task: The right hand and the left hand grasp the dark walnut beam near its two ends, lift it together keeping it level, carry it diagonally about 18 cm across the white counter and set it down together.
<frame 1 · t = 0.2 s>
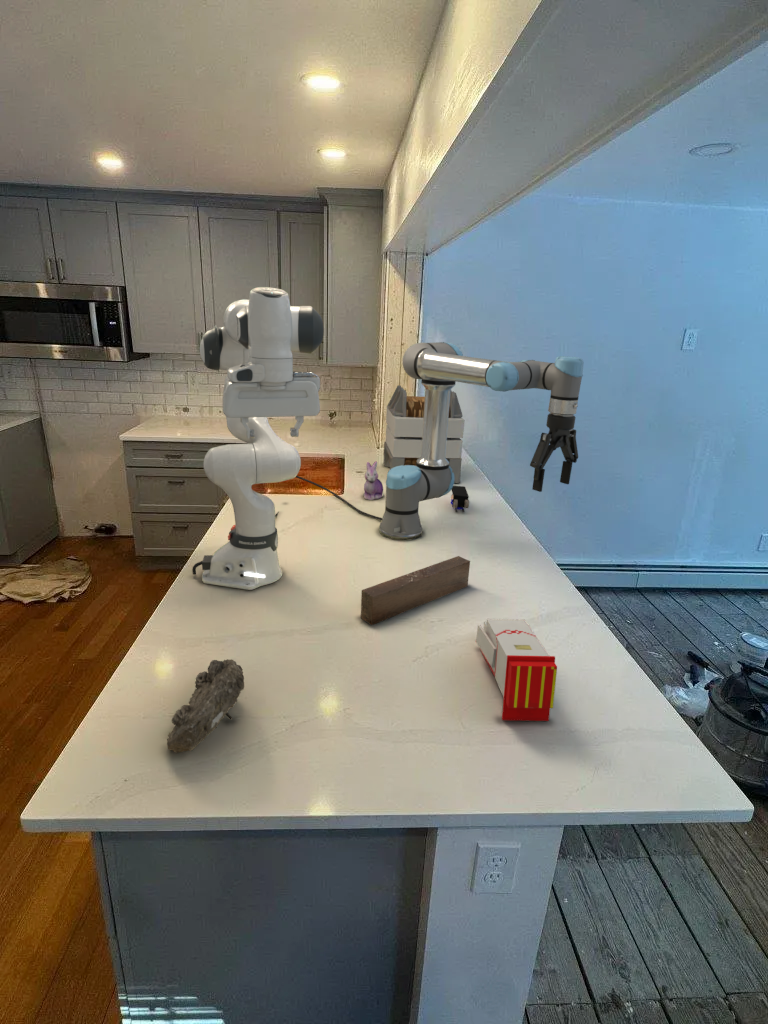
left hand: (272, 437, 122), 48 cm above the counter, fingers open, 8 cm apart
right hand: (551, 486, 165), 28 cm above the counter, fingers open, 13 cm apart
walnut beam: (417, 601, 154), on the counter
feather: (277, 515, 212), on the counter
figurine character: (458, 508, 229), on the counter
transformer: (419, 473, 275), on the counter
figurine: (372, 497, 237), on the counter
fossil: (212, 717, 108), on the counter
toy: (508, 678, 123), on the counter
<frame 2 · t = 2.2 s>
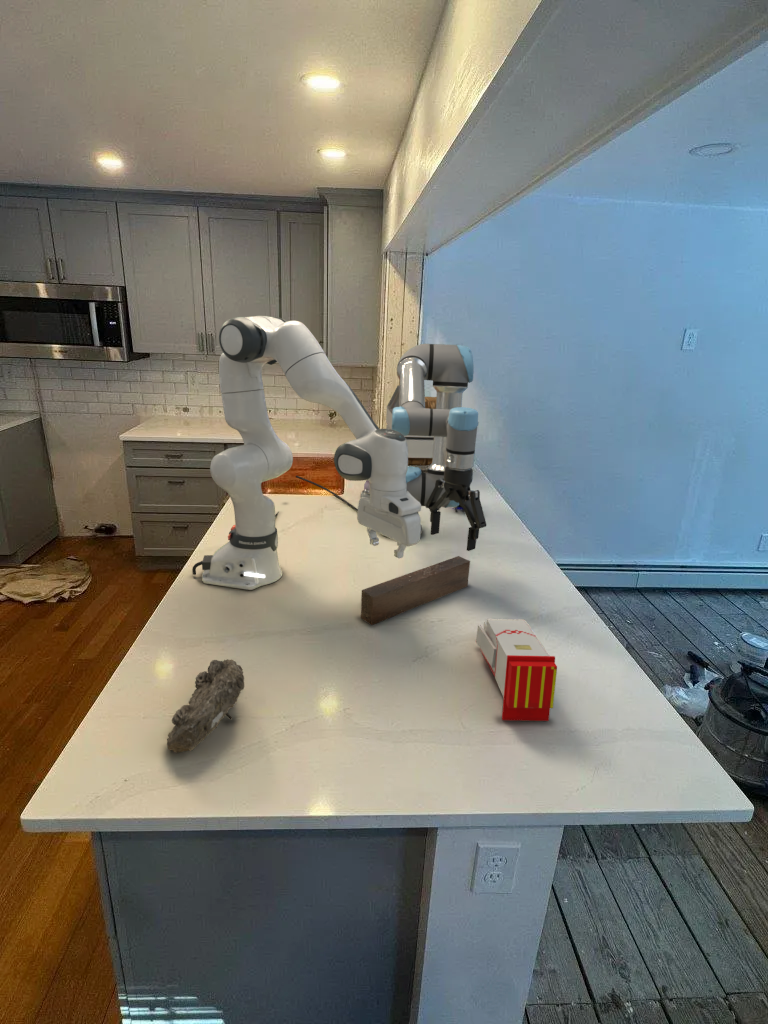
left hand: (386, 550, 140), 18 cm above the counter, fingers open, 8 cm apart
right hand: (452, 541, 157), 15 cm above the counter, fingers open, 13 cm apart
nothing on the counter moved.
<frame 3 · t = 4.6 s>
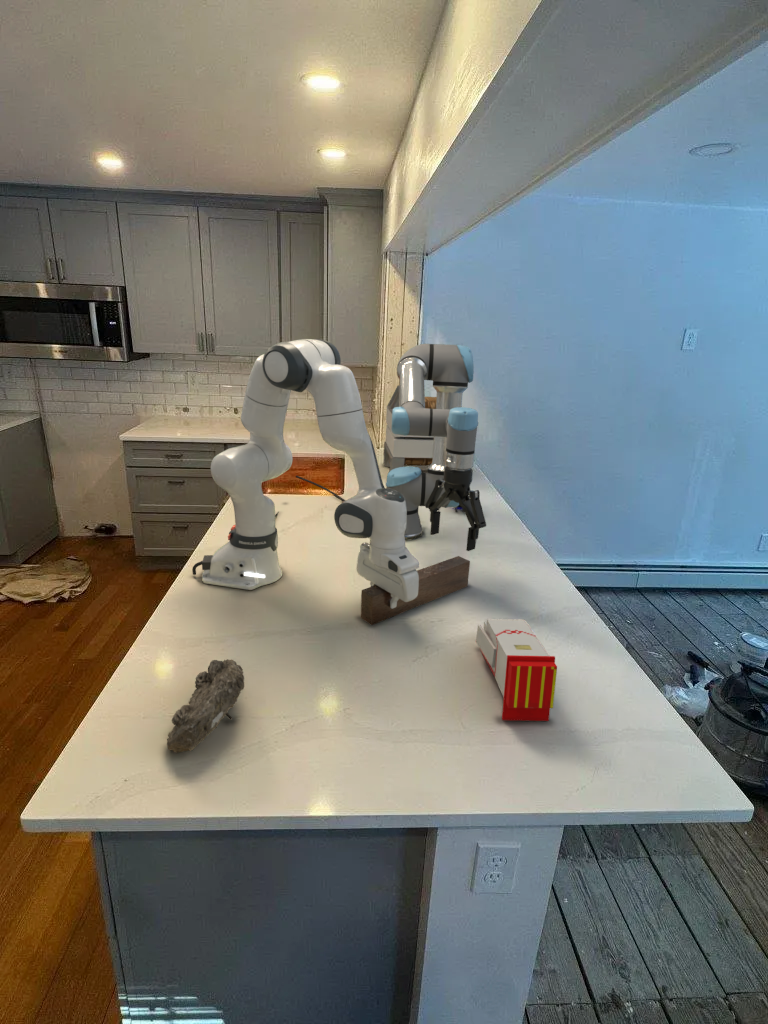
left hand: (384, 602, 146), 4 cm above the counter, fingers closed on walnut beam, 4 cm apart
right hand: (452, 541, 157), 15 cm above the counter, fingers open, 13 cm apart
walnut beam: (417, 601, 154), on the counter, touching left hand
everything else where it was.
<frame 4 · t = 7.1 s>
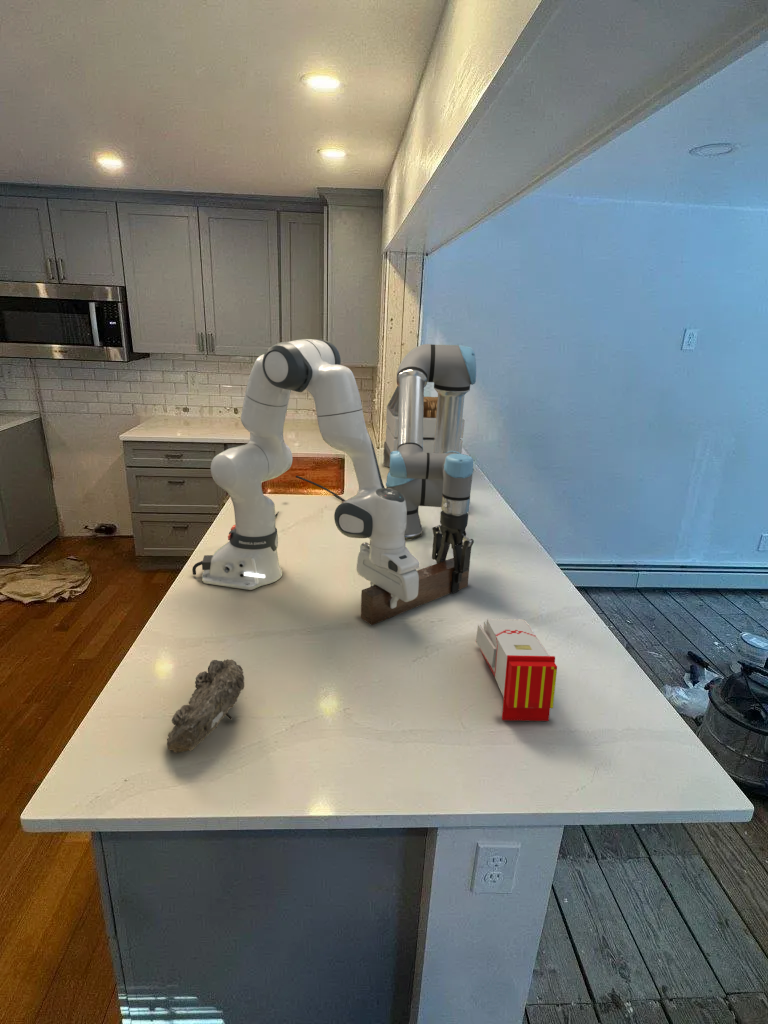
left hand: (384, 602, 146), 4 cm above the counter, fingers closed on walnut beam, 4 cm apart
right hand: (447, 588, 162), 0 cm above the counter, fingers closed on walnut beam, 4 cm apart
walnut beam: (417, 601, 154), on the counter, touching right hand, left hand
everything else where it was.
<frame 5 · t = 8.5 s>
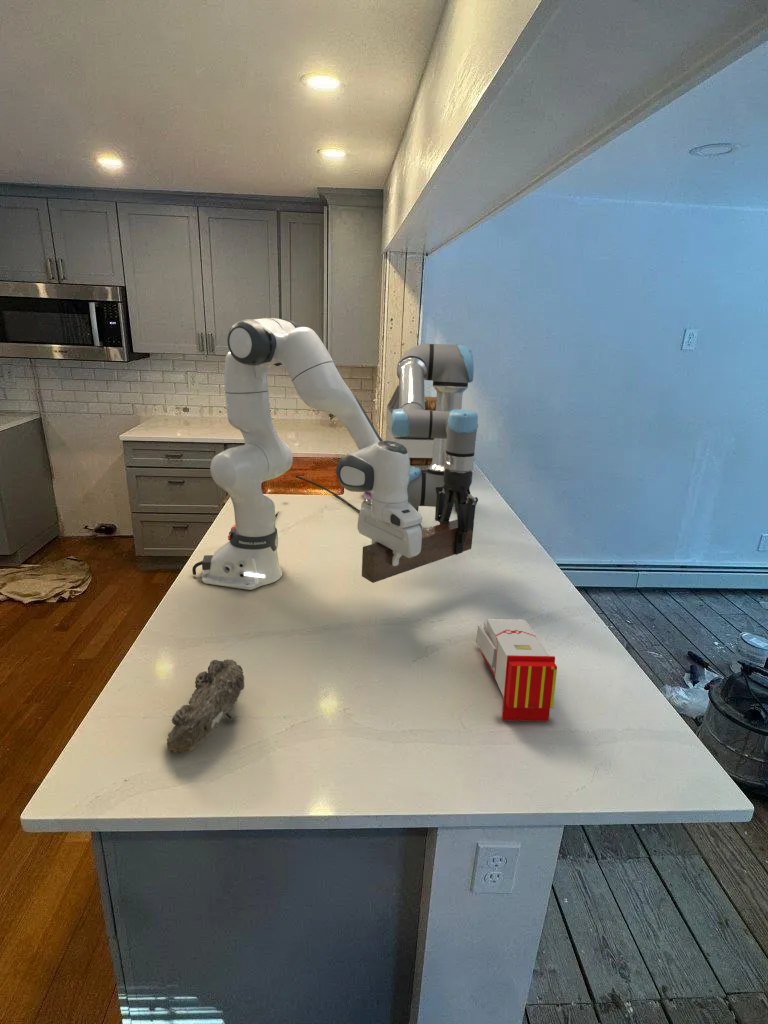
left hand: (386, 560, 142), 15 cm above the counter, fingers closed on walnut beam, 4 cm apart
right hand: (451, 549, 158), 12 cm above the counter, fingers closed on walnut beam, 4 cm apart
walnut beam: (419, 561, 151), point 12 cm above the counter, touching right hand, left hand
everything else where it was.
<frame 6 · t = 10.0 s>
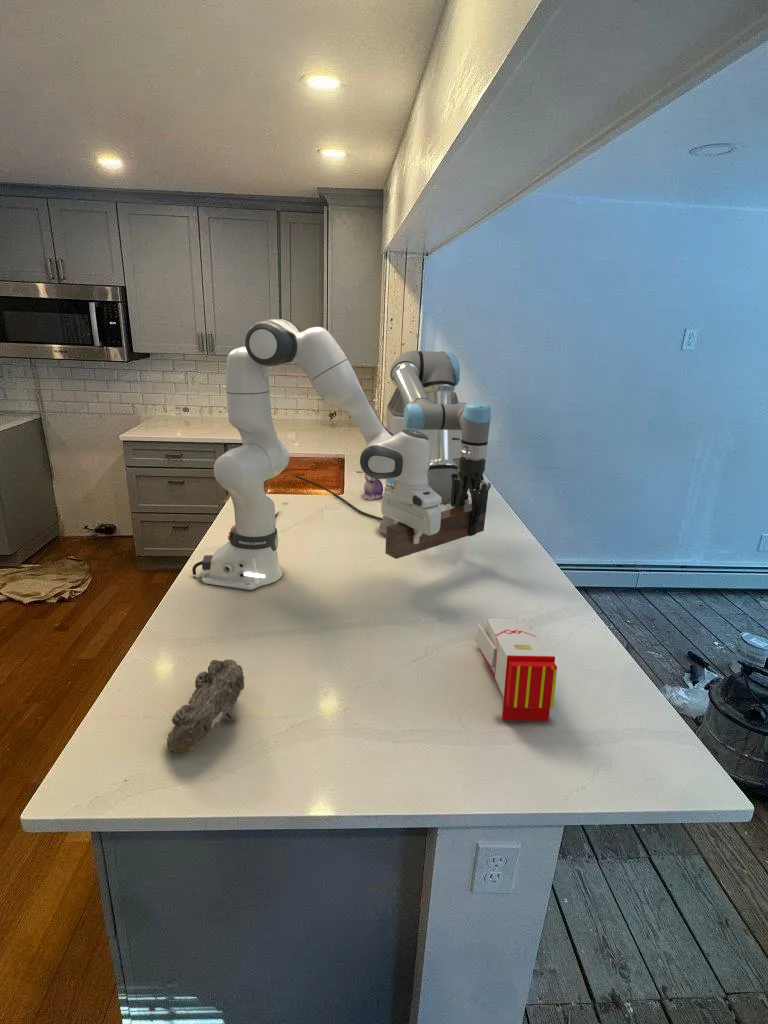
left hand: (407, 539, 155), 15 cm above the counter, fingers closed on walnut beam, 4 cm apart
right hand: (465, 532, 171), 12 cm above the counter, fingers closed on walnut beam, 4 cm apart
walnut beam: (437, 541, 164), point 12 cm above the counter, touching right hand, left hand
everything else where it was.
when the right hand's fingers open (1 cm above the counter, at t = 12.8 s): walnut beam drops 1 cm, on the counter.
when the left hand's fingers open (4 cm above the counter, at t = 12.9 s): walnut beam stays where it is, on the counter.
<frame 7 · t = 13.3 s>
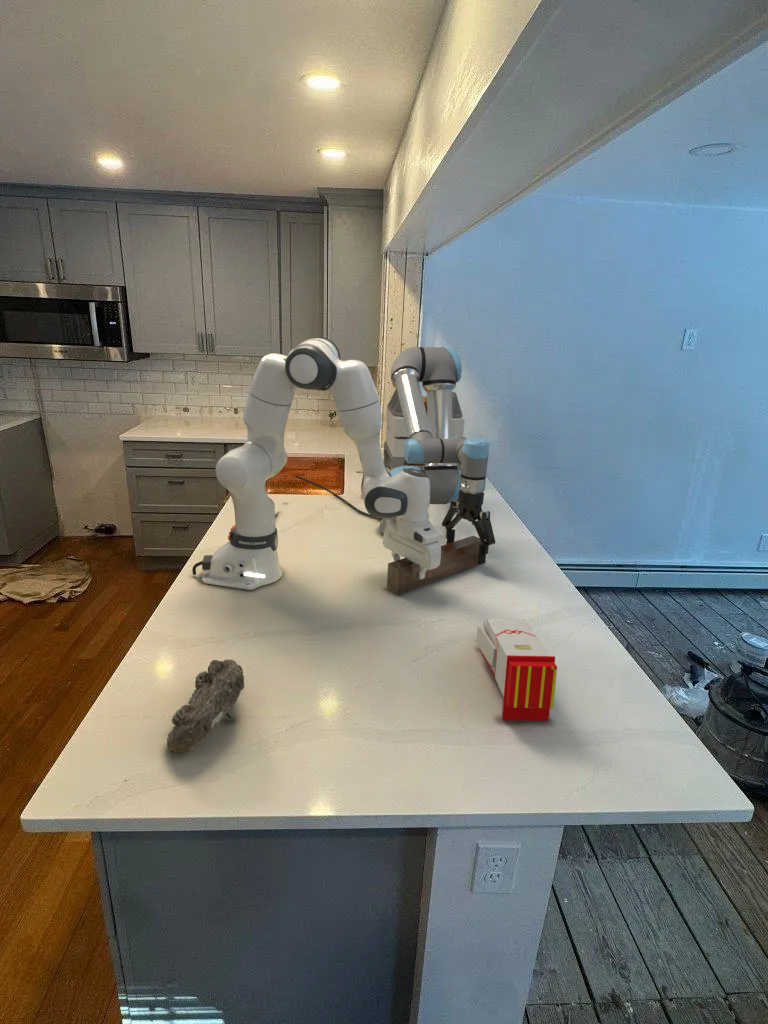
left hand: (409, 572, 161), 4 cm above the counter, fingers open, 8 cm apart
right hand: (465, 556, 177), 3 cm above the counter, fingers open, 12 cm apart
walnut beam: (436, 575, 170), on the counter
everything else where it was.
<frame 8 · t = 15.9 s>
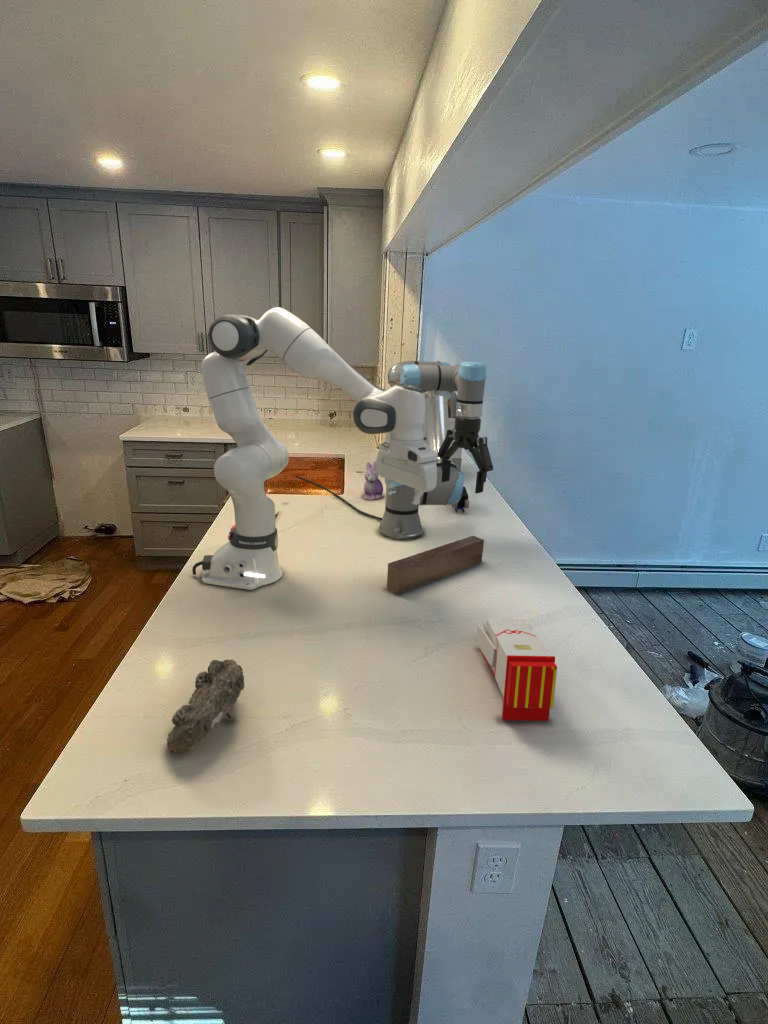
left hand: (403, 499, 151), 27 cm above the counter, fingers open, 8 cm apart
right hand: (461, 486, 172), 25 cm above the counter, fingers open, 13 cm apart
nothing on the counter moved.
at the end: walnut beam inside the target area (0.2 cm from its centre), on the counter; both hands held the walnut beam at the same time; walnut beam never tilted more than 2° during the clip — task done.
